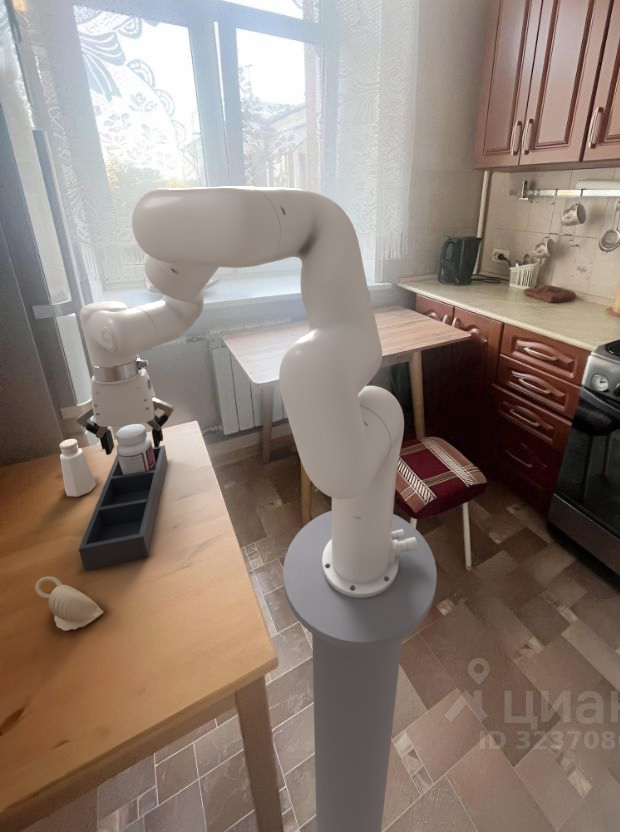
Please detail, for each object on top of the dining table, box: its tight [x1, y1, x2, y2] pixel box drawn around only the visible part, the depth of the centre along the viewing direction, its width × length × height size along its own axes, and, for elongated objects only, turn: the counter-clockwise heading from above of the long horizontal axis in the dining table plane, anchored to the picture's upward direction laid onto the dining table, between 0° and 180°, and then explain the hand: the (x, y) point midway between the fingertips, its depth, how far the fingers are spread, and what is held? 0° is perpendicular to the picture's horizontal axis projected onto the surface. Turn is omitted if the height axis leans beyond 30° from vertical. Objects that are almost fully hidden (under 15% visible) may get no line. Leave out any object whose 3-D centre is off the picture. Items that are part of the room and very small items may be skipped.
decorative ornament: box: [35, 575, 104, 632], centre depth 55 cm, size 4×8×5 cm, turn 64°
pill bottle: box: [115, 423, 156, 475], centre depth 80 cm, size 6×6×11 cm
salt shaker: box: [58, 438, 97, 498], centre depth 77 cm, size 5×5×11 cm
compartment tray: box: [77, 445, 169, 571], centre depth 74 cm, size 9×26×5 cm, turn 18°
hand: (134, 446), depth 79 cm, fingers open, 8 cm apart
